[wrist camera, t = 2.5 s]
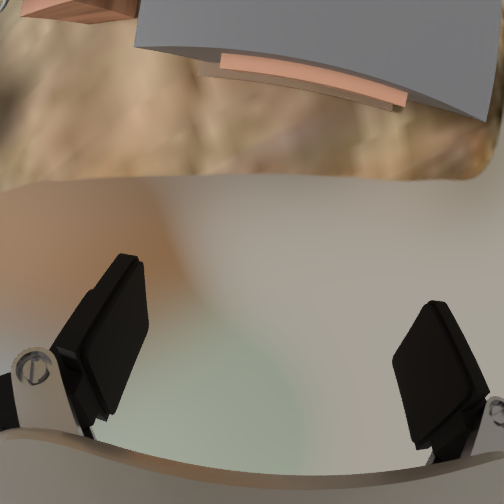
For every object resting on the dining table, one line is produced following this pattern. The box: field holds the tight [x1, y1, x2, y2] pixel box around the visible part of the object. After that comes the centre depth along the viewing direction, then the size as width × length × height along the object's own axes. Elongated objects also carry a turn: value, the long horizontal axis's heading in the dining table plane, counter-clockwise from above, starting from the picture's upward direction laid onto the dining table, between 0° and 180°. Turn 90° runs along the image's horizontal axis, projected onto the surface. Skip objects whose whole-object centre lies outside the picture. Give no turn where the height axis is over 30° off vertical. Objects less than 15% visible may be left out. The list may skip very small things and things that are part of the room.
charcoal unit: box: [134, 0, 501, 122], centre depth 11 cm, size 9×13×12 cm
